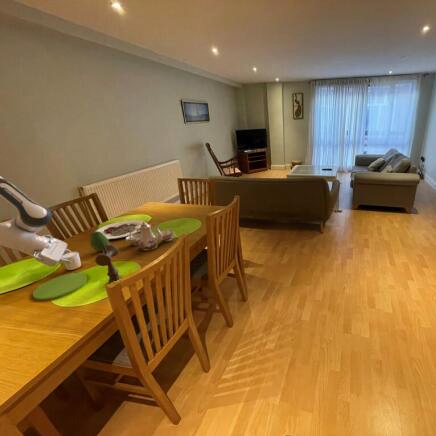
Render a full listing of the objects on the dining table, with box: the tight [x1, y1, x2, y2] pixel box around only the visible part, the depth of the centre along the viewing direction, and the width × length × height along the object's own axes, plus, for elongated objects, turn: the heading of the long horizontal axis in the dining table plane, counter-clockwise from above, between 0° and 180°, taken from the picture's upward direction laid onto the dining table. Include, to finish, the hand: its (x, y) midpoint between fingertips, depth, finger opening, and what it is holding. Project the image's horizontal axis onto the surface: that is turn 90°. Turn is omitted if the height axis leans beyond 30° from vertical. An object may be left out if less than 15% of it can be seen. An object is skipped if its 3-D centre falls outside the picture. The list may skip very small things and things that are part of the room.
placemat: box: [32, 272, 88, 301], centre depth 107 cm, size 18×18×1 cm
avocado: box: [90, 230, 110, 252], centre depth 135 cm, size 8×8×12 cm
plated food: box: [94, 219, 147, 240], centre depth 161 cm, size 30×30×3 cm
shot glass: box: [61, 251, 82, 271], centre depth 120 cm, size 7×7×7 cm
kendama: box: [95, 243, 123, 284], centre depth 107 cm, size 6×10×20 cm, turn 17°
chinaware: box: [123, 221, 177, 252], centre depth 141 cm, size 28×17×17 cm, turn 113°
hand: (72, 258), depth 120 cm, fingers closed on shot glass, 7 cm apart
